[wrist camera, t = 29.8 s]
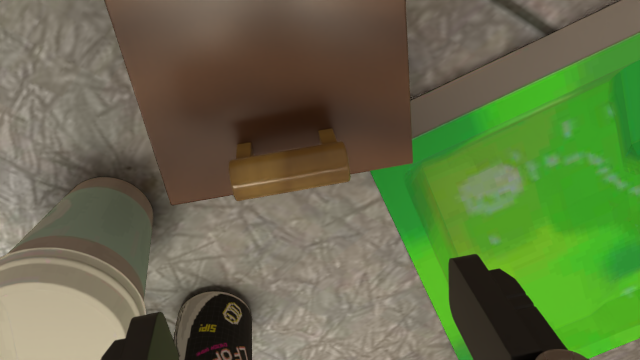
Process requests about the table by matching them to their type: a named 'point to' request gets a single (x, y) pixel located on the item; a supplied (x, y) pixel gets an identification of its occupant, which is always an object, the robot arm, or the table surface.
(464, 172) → the tray
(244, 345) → the beverage can
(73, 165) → the table surface
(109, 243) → the coffee cup
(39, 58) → the table surface
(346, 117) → the lid
